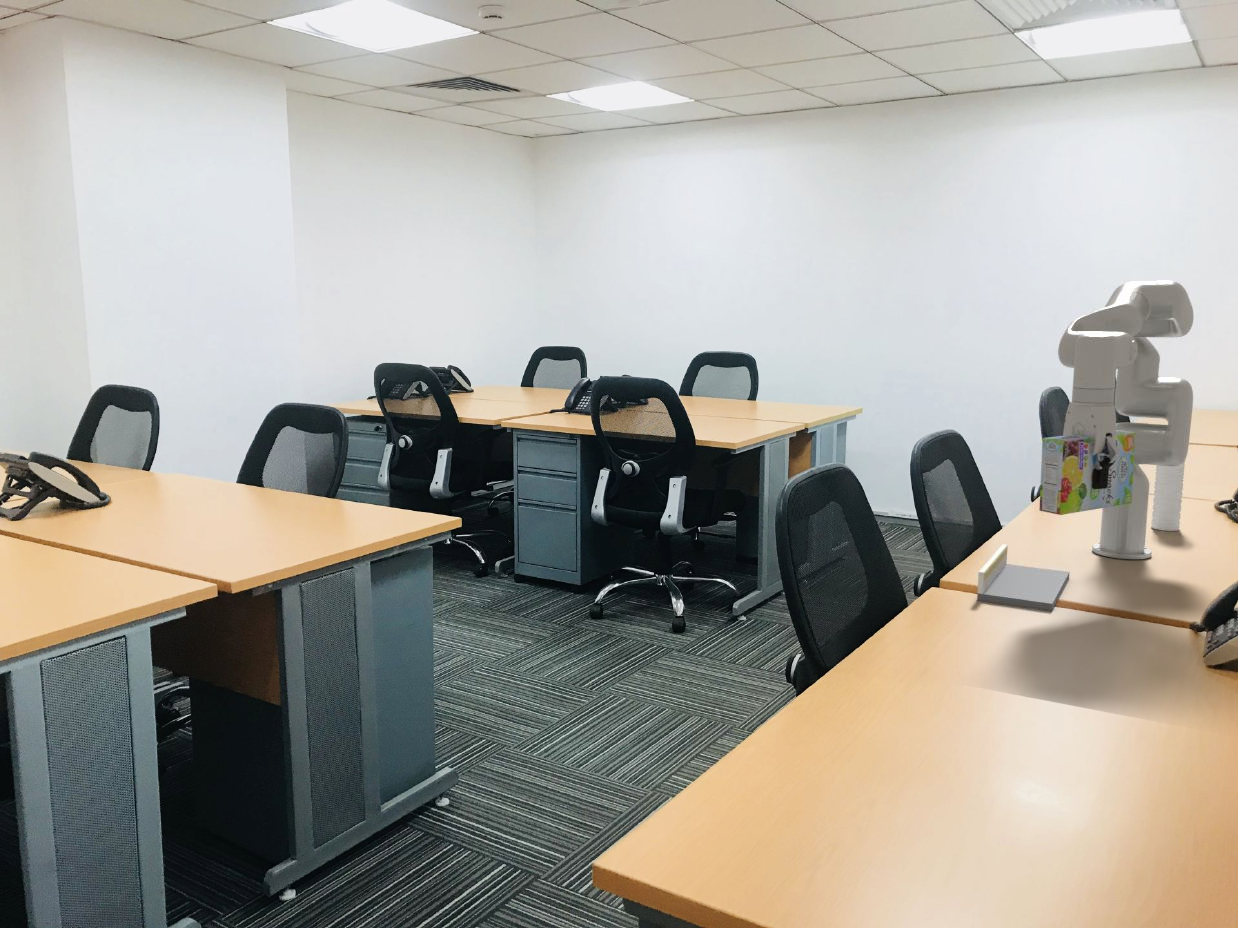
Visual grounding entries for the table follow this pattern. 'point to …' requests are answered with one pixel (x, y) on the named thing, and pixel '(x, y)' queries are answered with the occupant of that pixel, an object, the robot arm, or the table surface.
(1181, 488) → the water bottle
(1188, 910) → the table surface
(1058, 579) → the shelf
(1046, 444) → the snack box
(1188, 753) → the table surface
